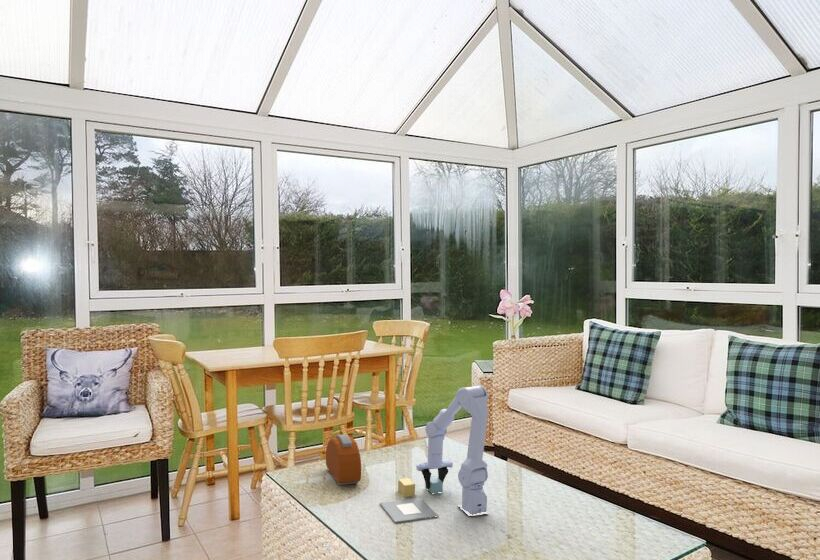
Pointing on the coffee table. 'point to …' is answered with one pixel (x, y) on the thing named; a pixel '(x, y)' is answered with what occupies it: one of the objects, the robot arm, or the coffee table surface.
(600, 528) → the coffee table surface
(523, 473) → the coffee table surface
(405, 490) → the ochre brick
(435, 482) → the teal brick
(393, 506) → the baseplate
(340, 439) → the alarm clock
